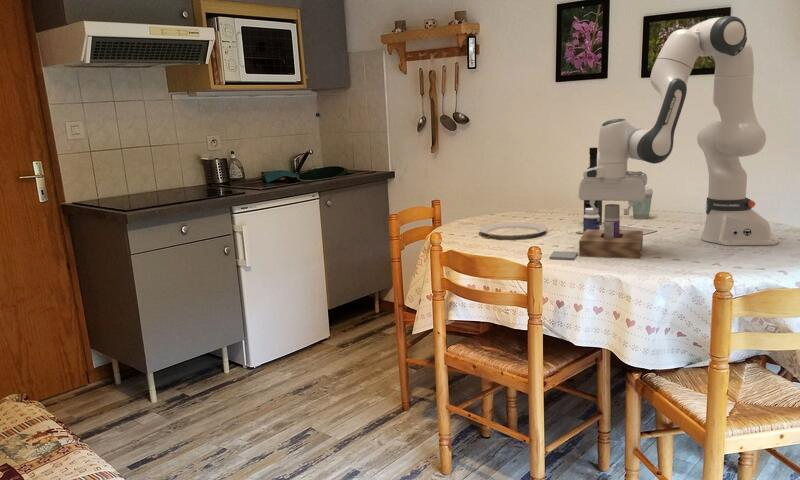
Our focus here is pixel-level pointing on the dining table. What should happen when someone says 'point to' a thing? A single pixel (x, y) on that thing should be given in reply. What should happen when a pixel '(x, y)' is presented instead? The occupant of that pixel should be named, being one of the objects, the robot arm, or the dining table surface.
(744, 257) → the dining table surface
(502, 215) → the dining table surface
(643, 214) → the coffee cup
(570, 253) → the coaster
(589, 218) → the pill bottle
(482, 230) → the plate
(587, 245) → the socket block
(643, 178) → the robot arm
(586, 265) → the dining table surface
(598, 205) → the wine bottle
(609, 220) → the container
